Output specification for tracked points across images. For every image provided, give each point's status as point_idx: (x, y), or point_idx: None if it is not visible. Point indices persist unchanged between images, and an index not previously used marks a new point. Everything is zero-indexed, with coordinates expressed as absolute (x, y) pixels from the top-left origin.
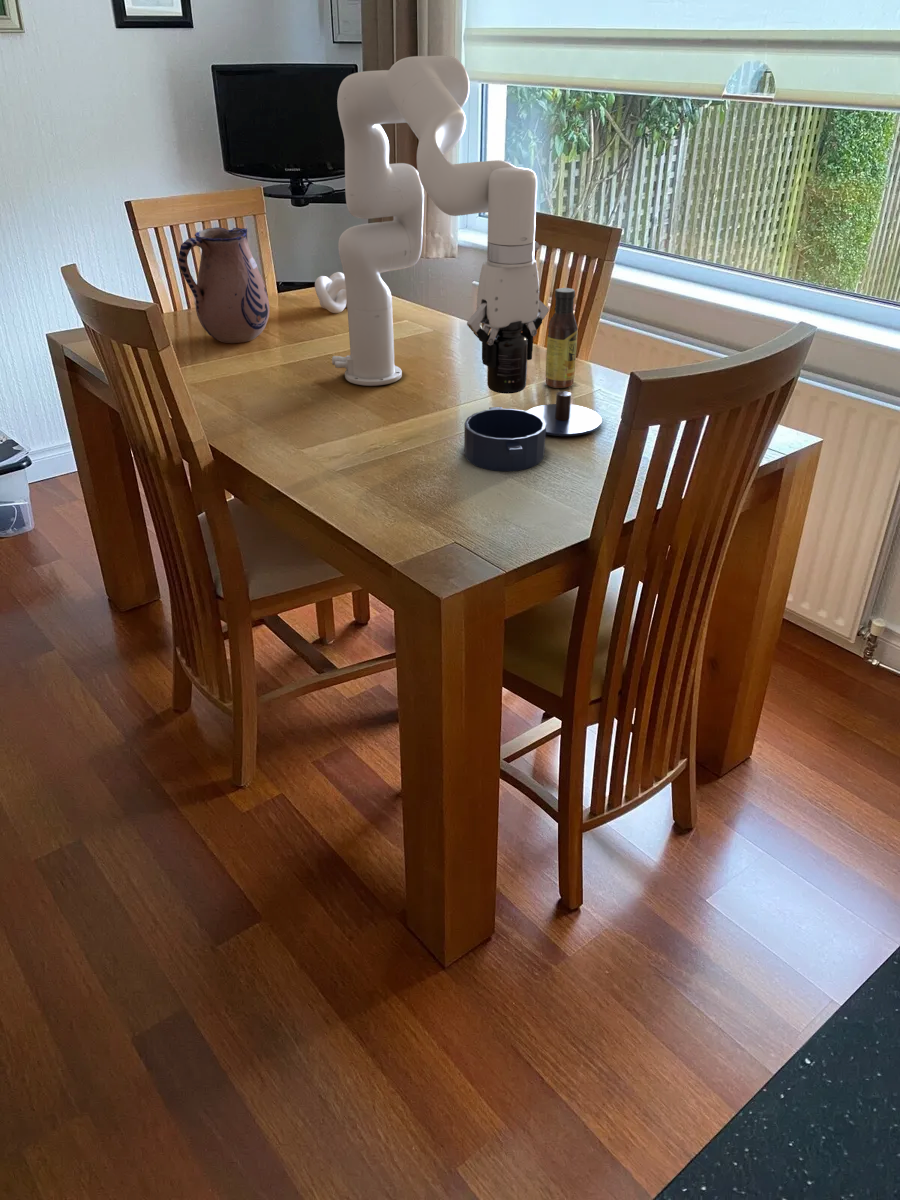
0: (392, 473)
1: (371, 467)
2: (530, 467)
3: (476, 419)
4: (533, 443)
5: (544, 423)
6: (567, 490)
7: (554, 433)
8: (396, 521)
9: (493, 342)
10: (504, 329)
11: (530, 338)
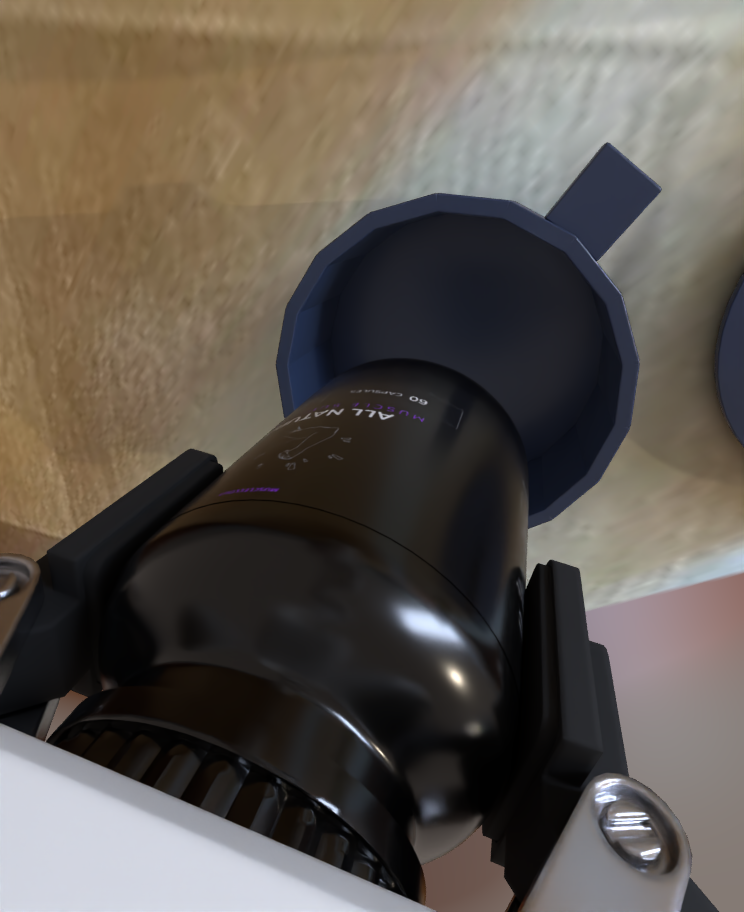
0: (94, 182)
1: (54, 81)
2: None
3: (437, 212)
4: None
5: (551, 513)
6: None
7: (725, 412)
8: (12, 408)
9: (58, 700)
10: None
11: (493, 849)
